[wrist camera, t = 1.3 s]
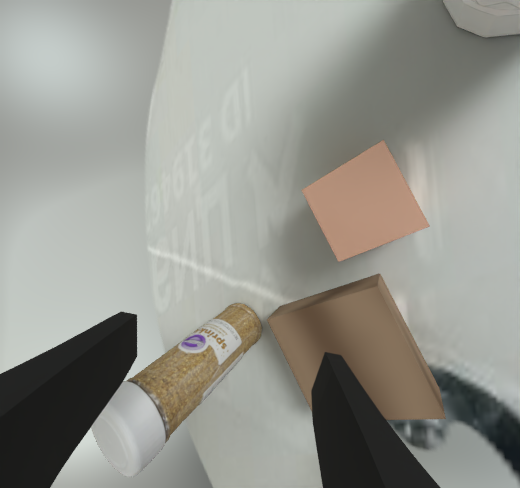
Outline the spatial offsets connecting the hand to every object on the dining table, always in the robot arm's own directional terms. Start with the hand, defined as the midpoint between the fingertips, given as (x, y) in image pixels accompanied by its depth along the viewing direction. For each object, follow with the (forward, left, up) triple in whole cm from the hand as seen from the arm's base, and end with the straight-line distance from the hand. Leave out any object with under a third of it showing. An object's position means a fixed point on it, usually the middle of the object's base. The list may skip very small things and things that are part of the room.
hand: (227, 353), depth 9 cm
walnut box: (+1, +7, -13) cm, 14 cm away
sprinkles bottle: (+10, +3, -12) cm, 16 cm away
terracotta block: (-5, -3, -12) cm, 14 cm away
